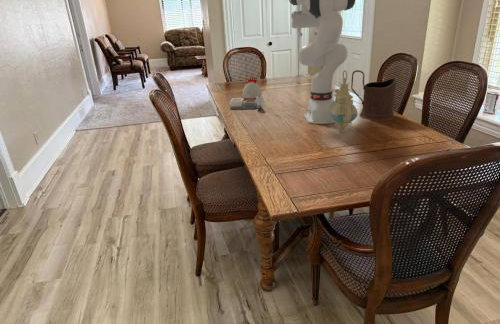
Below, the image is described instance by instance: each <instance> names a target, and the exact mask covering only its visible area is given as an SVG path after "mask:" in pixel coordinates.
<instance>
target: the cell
mask: <svg viewBox="0 0 500 324" xmlns="http://www.w3.org/2000/svg"><path fill="white" fill-rule="evenodd" d="M263 103H264V102H263V95H262V96H260V95H258V96H256V108H255V110H257V109H258V110H257V111H262V110H264V105H263ZM261 109H262V110H261Z"/></svg>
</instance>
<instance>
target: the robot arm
mask: <svg viewBox="0 0 500 324" xmlns="http://www.w3.org/2000/svg"><path fill="white" fill-rule="evenodd" d="M288 1H289V3H290V4H291V5H292V6H298V5H300V7H301V8H300V9H301V10H298V11H297V10H294V11H293V12H292V13H291V14H290V15H291V16H290V17H291V25H290V26H291V28H292V29H297V32H298V36H299V37H302V36H303V32H301V29H305V28H307V29H308V28H316V31H315V32H314V36H315V38H314V39H313V40H312V41H311V42H309V43H308V44H306V45H302V46H301V48H300V49H299V51H298V54H297V55H298V56H297V58H298V61H299V63H300V64H301V65H302V66H306V67H307V66H308V67H320V66H321V67H322V69H321V70H319V71H318V72H316V73H314V74H313V76H312V77H311V89H310V93H309V97H310V99H308V100H307V105H306V106H307V109H306V113H303V116H304V118H305V119H306V122H307V123H309V124H313V125H314V124H315V125H316V124H317V125H318V124H320V125H325V124H327V125H328V124H335V122H334V121H333V118H332V116H331V114H330V112H329V108H330V106H331V104H332V103H333V102H335V99H333V90H332V88H333V79H334V75H335V73H336V71H337V70H338V68H339V67H340V66H341V65H342V64H344V62H346V60H347V58H348V56H349V55H348V54H349V53H348V48H347V47H346V46H345V44H341V43H339V41H340V37H341V35H342V32H343V31H342V30H343V20H344V19H343V17H342V15H341V14H340V13H339V12H342V11H347V10H350V9H352V8H354V5H356V0H288Z"/></svg>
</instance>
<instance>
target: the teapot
mask: <svg viewBox="0 0 500 324" xmlns="http://www.w3.org/2000/svg"><path fill="white" fill-rule="evenodd" d="M344 75H345V77H344ZM347 80H348V71H347V70H346V69H345V70H343V71H342V83H341V82H339V85H340V87H338V88H335V90H334V93H335V94H334V97H335V99H334V102H333V103H332V104H331V106H330V108H329V112H330V114H331V116H332V118H333V121H334V124H336V125H337V126H338V127H339V132H340V134H343V133H344V129H345V128H346V127H347V126H349V125H350V124H352V122H353V121H354V120H356V119H357V117H358V115H359V113H358V109H357V108H356V105H354V97H353V96H352V94H350V89H349V84H350V82H348V83H347Z"/></svg>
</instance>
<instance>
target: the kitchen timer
mask: <svg viewBox="0 0 500 324" xmlns="http://www.w3.org/2000/svg"><path fill="white" fill-rule="evenodd" d="M245 82H246V84H245V85H244V87H243V90H242V95H241V96H242V97H241V98H243V99H245V100H244V101H246V100H256V96H258V95H260V96H262V97H263V95H262V90H261V87H260V86H259V84H257V82H258V79H256V77H254V78H253V76H251V77H249V78H247V80H245Z"/></svg>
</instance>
